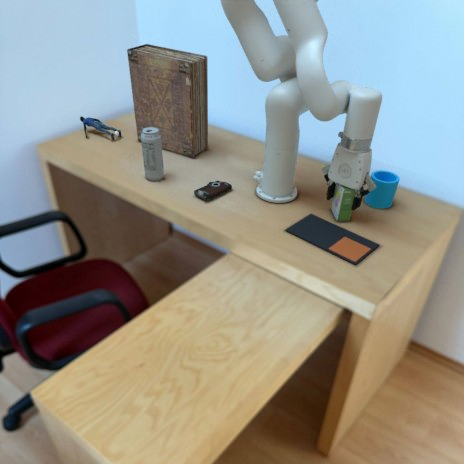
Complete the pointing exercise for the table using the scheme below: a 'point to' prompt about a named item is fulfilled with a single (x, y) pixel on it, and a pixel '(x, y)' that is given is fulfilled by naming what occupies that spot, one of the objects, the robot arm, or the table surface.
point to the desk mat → (333, 238)
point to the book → (171, 96)
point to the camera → (212, 190)
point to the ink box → (342, 202)
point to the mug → (382, 189)
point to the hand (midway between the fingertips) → (342, 203)
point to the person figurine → (99, 126)
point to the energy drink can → (152, 153)
